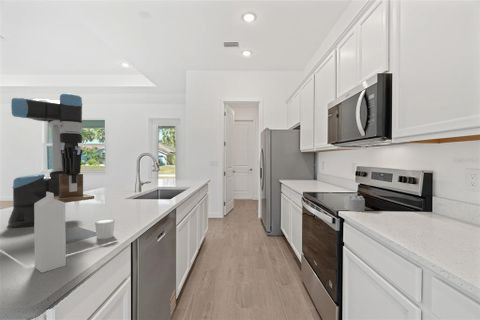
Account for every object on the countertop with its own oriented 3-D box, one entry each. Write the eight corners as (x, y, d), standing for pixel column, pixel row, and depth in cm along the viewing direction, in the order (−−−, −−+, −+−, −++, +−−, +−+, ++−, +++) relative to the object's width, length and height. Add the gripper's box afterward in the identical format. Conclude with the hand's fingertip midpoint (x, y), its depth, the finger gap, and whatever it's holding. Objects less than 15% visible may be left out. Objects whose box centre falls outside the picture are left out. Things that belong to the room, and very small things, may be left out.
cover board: (47, 200, 101) (47, 174, 101) (80, 196, 111) (79, 172, 111) (61, 203, 95) (61, 176, 95) (94, 198, 105) (94, 174, 105)
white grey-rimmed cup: (106, 241, 97) (106, 223, 97) (90, 240, 98) (90, 222, 98) (118, 236, 103) (118, 219, 103) (103, 235, 105) (103, 218, 105)
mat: (40, 236, 103) (40, 234, 103) (78, 228, 115) (78, 226, 115) (63, 245, 92) (63, 244, 92) (102, 235, 104) (102, 234, 104)
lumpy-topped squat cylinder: (358, 207, 165) (359, 194, 165) (368, 211, 152) (368, 197, 152) (342, 207, 165) (342, 194, 165) (351, 211, 152) (351, 197, 152)
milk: (58, 261, 79) (58, 190, 79) (65, 266, 75) (66, 192, 75) (33, 267, 74) (34, 192, 74) (40, 273, 71) (40, 194, 70)
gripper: (52, 133, 104) (52, 190, 104) (69, 131, 95) (70, 193, 96) (72, 134, 110) (72, 188, 110) (90, 133, 102) (90, 191, 102)
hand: (71, 191), depth 103 cm, fingers closed on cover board, 2 cm apart
